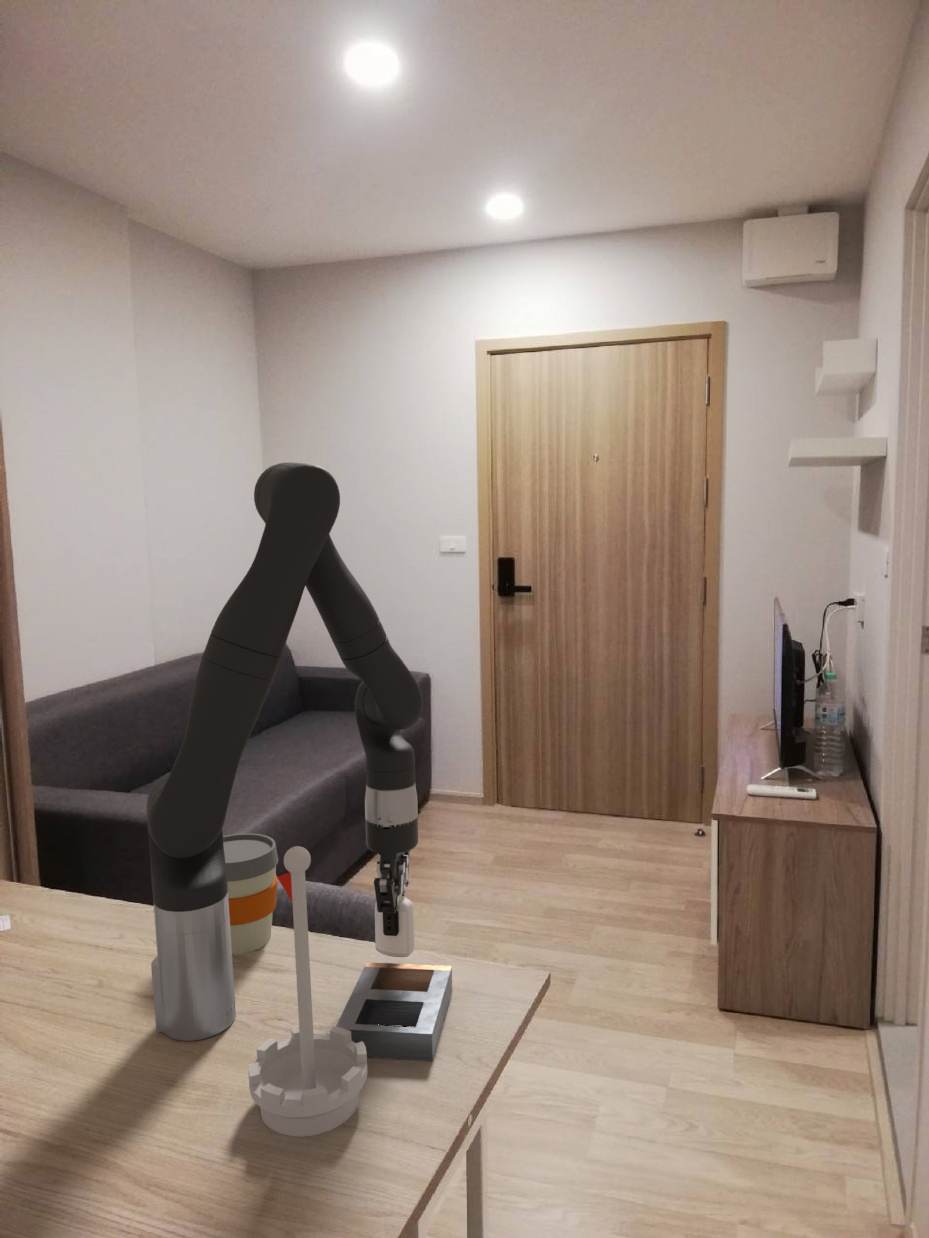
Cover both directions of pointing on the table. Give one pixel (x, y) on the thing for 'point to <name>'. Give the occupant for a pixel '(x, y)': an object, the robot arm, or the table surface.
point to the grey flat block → (398, 1009)
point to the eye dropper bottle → (405, 938)
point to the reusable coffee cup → (250, 889)
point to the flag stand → (306, 1046)
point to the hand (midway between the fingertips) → (394, 927)
